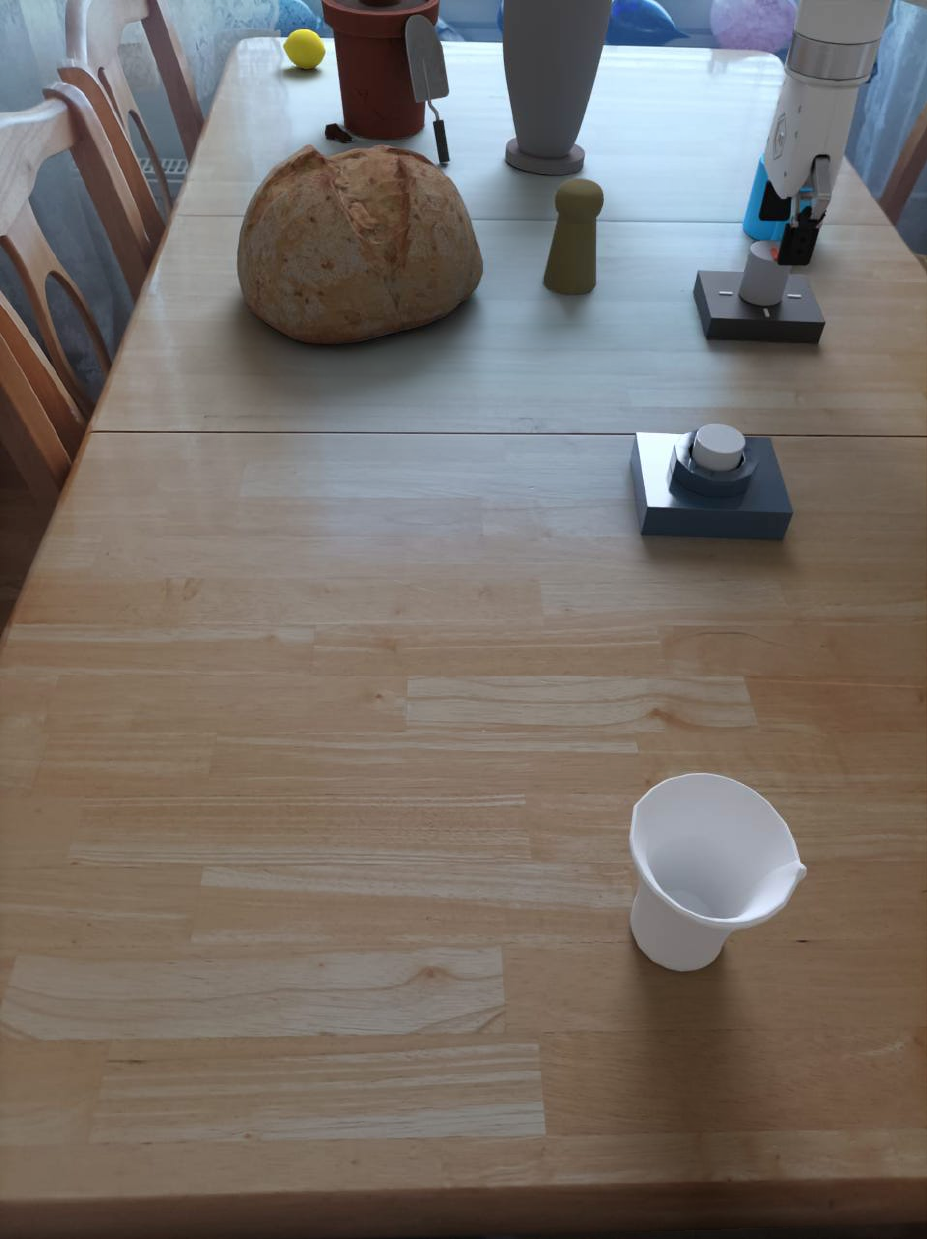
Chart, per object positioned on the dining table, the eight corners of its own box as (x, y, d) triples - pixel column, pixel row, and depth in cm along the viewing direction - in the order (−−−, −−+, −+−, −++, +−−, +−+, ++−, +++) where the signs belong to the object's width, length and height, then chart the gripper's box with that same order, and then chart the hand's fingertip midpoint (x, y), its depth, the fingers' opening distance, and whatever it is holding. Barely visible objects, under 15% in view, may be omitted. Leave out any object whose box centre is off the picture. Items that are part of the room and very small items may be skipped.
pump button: (735, 443, 80) (741, 424, 78) (743, 473, 77) (749, 454, 76) (688, 441, 80) (693, 422, 78) (694, 471, 77) (700, 452, 76)
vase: (588, 144, 132) (628, -178, 106) (595, 184, 124) (640, -155, 98) (495, 141, 132) (511, -182, 106) (495, 181, 124) (513, -160, 97)
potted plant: (450, 105, 141) (454, -102, 122) (449, 166, 126) (453, -57, 108) (332, 101, 140) (317, -107, 121) (318, 162, 126) (299, -63, 107)
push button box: (760, 465, 85) (776, 420, 82) (782, 541, 79) (800, 496, 75) (629, 460, 85) (639, 415, 82) (640, 535, 79) (651, 489, 75)
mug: (745, 210, 120) (762, 144, 114) (810, 220, 119) (830, 153, 113) (737, 253, 112) (755, 184, 106) (807, 264, 111) (829, 195, 105)
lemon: (332, 65, 150) (330, 26, 146) (320, 76, 147) (317, 37, 143) (292, 59, 151) (288, 21, 147) (278, 70, 148) (274, 32, 144)
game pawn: (533, 274, 107) (542, 177, 99) (577, 263, 109) (590, 167, 101) (560, 299, 104) (571, 200, 96) (606, 287, 106) (621, 190, 98)
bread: (445, 232, 114) (447, 98, 102) (512, 332, 99) (523, 190, 88) (226, 260, 107) (203, 122, 96) (264, 372, 93) (241, 225, 82)
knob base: (798, 295, 106) (805, 273, 104) (818, 343, 99) (826, 321, 97) (693, 290, 106) (698, 268, 104) (705, 339, 99) (711, 316, 97)
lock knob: (735, 283, 102) (747, 236, 98) (777, 285, 102) (791, 238, 98) (741, 304, 99) (754, 257, 95) (785, 307, 99) (800, 259, 95)
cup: (743, 1024, 52) (796, 953, 45) (584, 962, 54) (609, 884, 47) (769, 887, 58) (820, 803, 50) (623, 835, 60) (652, 747, 53)
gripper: (770, 24, 89) (731, 204, 102) (810, 88, 78) (761, 282, 90) (849, 25, 89) (800, 205, 102) (901, 89, 78) (839, 283, 90)
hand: (782, 241), depth 96 cm, fingers open, 9 cm apart
